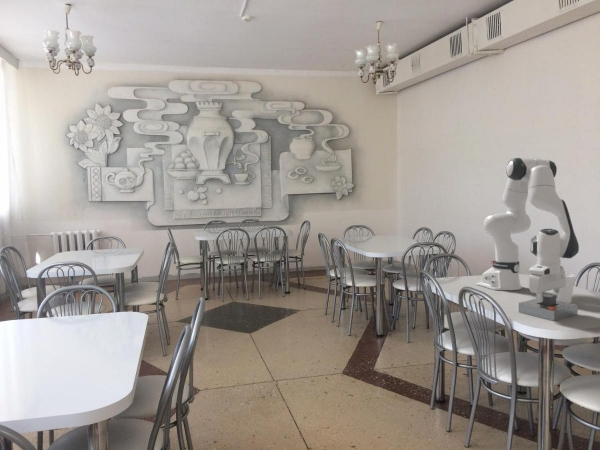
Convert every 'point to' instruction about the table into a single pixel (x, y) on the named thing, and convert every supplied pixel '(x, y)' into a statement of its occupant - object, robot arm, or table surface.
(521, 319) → the table surface
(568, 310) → the socket
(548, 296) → the plug
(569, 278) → the foam cup
